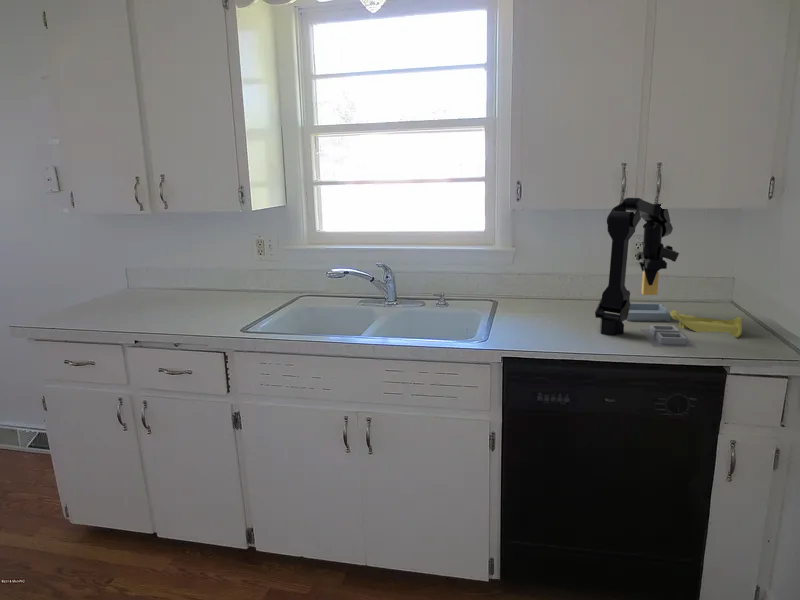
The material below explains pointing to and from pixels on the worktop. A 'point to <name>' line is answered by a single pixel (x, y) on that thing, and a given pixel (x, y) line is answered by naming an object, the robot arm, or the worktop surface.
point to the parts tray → (648, 312)
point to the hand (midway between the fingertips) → (649, 284)
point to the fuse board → (667, 336)
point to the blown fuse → (648, 288)
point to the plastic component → (709, 324)
